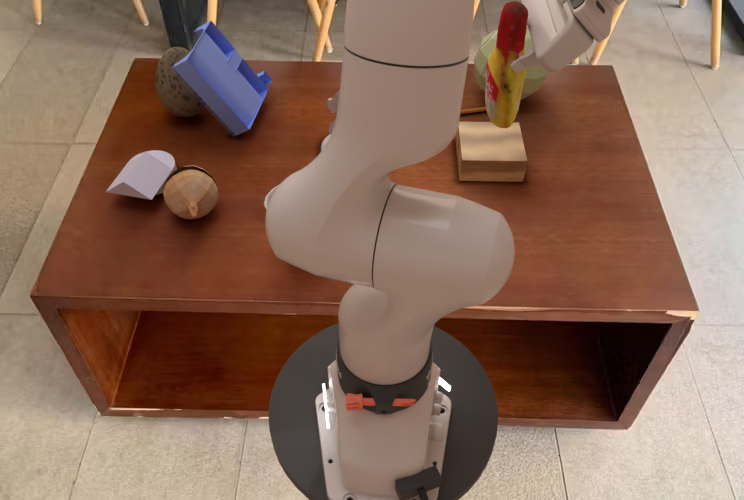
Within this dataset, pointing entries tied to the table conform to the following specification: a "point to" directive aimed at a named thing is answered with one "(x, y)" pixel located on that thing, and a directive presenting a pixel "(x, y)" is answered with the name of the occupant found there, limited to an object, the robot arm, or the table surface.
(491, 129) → the birch block
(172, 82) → the decorative egg
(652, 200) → the table surface
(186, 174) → the acorn
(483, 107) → the pencil
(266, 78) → the blue plastic box
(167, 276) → the table surface
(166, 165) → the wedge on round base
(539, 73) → the decorative sphere
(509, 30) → the bottle
